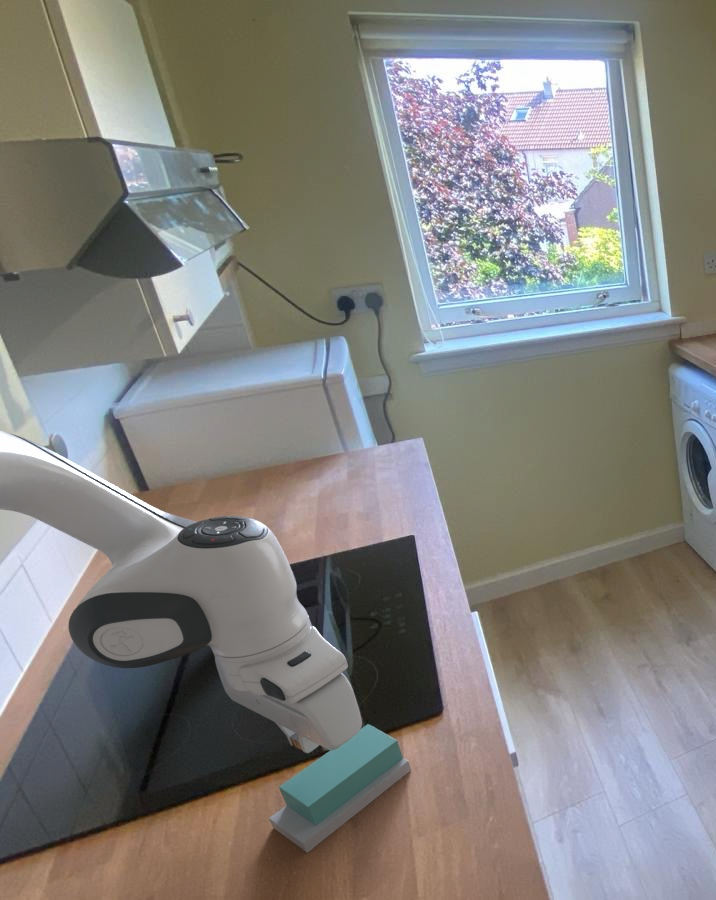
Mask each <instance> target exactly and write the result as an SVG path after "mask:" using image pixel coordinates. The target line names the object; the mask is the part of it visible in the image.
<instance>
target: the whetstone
mask: <svg viewBox="0 0 716 900" xmlns="http://www.w3.org/2000/svg"><path fill="white" fill-rule="evenodd" d="M411 771H412V768H411V765H410V762H409V760H408V759H406V758H404V757H403V754H402V751H401V748H400V745H399V741H398V739H395V738H393V737H392V736H390V735H389V734H387V733H385V732H383V731H382V730H380V729H378V728H376V727H375V726H373V725H371V724H369V723H367V724H366V725H364V726H363V727H361V729H360V731H359V732H358V733H357V734H356V735H355V736H354V737H352V738H351V739H350V740H349V741H347V742H346V743H345V744H343V745H342V746H340V747H339V748H337V749H336V750H333V751H331V750H328V752H326V753H325V754H323V755H322V756H320V757H319V758H317V759H316V760H315V761H313V762H311V763H310V764H309V765H307V766H306V767H305V768H303V769H302V770H300V771H298V772H297V773H296V774H295V775H293V776H292V777H290V778H289V779H287V780H286V781H284V782H283V783H282V784H281V785H279V786H278V790H279V791H280V793H281V796H282V798H283V801H284V802H285V804H286V805H285V806H283V807H282V808H281V809H280V810H278V811H276V812H275V813H274V814H272V815H271V816H269V818H268V820H269V822H270V824H271V826H272V828H273V829H274V830H276V831H277V832H278V833H280V834H281V835H282V836H284V837H285V838H286V839H288V840H289V841H290V842H292V843H293V844H294V845H295V846H297V847H298V848H300V849H301V850H303V852H305V853H307V854H308V853H309V852H311V851H312V850H313V849H315V848H316V847H317V846H318V845H319V844H321V843H322V842H323V841H325V840H326V839H327V838H328V837H329V836H330V835H332V834H333V833H334V832H335V831H337V830H338V829H339V828H341V827H342V826H343V825H345V824H346V823H348V821H349V820H351V819H352V818H353V817H355V816H356V815H357V814H359V813H360V812H361V811H362V810H363V809H365V808H366V807H367V806H368V805H370V804H371V803H372V802H374V800H376V799H377V798H378V797H380V796H381V795H382V794H384V793H385V792H386V791H387V790H388V789H390V788H391V787H392V786H393V785H394V784H396V783H398V782H399V780H401V779H402V778H403V777H405V776H406V775H407V774H409V773H410V772H411Z"/></svg>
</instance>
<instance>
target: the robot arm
mask: <svg viewBox="0 0 716 900" xmlns="http://www.w3.org/2000/svg"><path fill="white" fill-rule="evenodd" d="M0 510H1V511H2V510H3V511H9V512H14V513H19V514H23V515H26V516H29V517H31V518H33V519H36V520H38V521H40V522H42V523H44V524H46V525H47V526H49V527H52V528H54V529H56V530H58V531H59V532H61V533H63V534H66V535H67V536H70V537H71V538H73V539H76V540H78V541H79V542H82V543H83V544H85V545H87V546H89V547H92V548H94V549H95V550H97V551H99V552H101V553H102V554H104V555H105V556H106V558H108V560H109V561H110V564H111V567H110V568H109V569H108V570H107V571H106V572H105V573H104V575H102V576H101V577H100V578H99V579H98V580H97V581H96V582H95V584H94V585H93V586H92V587H91V588H90V589H89V590H88V592H87V593H86V594H85V595H84V596H83V598H82V599H81V600H80V601H79V603H78V605H77V606H76V607H75V608H74V610H73V611H72V612H71V615H70V616H69V620H68V633H69V636H70V638H71V640H72V642H73V644H74V645H75V647H76V648H77V649H78V650H79V651H80V652H81V653H82V654H84V655H85V656H86V657H87V658H89V659H91V660H93V661H95V662H97V663H99V664H101V665H105V666H108V667H111V668H118V669H139V668H145V667H150V666H153V665H158V664H161V663H164V662H167V661H171V660H175V659H177V658H181V657H184V656H186V655H189V654H192V653H194V652H197V651H199V650H202V649H203V648H205V647H207V646H208V647H210V649H211V651H212V654H213V656H214V661H215V662H214V663H215V666H216V670H217V673H218V676H219V679H220V681H221V682H220V683H222V687H223V690H224V692H225V693H226V695H227V697H229V698H230V699H231V700H232V701H233V702H235V703H236V704H239V705H241V706H243V707H245V708H246V709H248V710H250V711H253V712H254V713H256V714H258V715H260V716H262V717H264V718H266V719H268V720H270V721H272V722H274V724H276V726H278V728H279V729H280V730H281V731H282V732H283V734H284V735H285V736H286V738H287V740H288V743H289V745H290V746H292V747H294V748H296V749H299V750H301V751H302V752H304V753H305V754H310V753H311V752H313V751H314V750H315V749H317V748H318V747H319V746H321V747H322V748H324V749H326V750H328V751H330V750H331V751H333V750H336V749H337V748H339V747H340V746H342V745H343V744H345V743H346V742H347V741H349V740H350V739H351V738H352V737H354V736H355V735H356V734H357V733H358V732H359V731H360V729H362V725H363V721H362V716H361V711H360V708H359V705H358V701H357V698H356V695H355V692H354V689H353V686H352V684H351V682H350V681H349V678H347V676H346V675H345V674H344V673H343V672H345V671H346V670H347V669H348V667H349V666H348V662H347V661H348V660H347V658H346V656H345V655H344V654H343V652H341V651H340V650H339V649H337V648H336V647H334V646H333V645H332V644H331V643H330V642H328V641H327V640H326V639H325V638H324V636H323V635H321V633H320V632H319V630H318V629H317V627H315V625H313V624H312V622H311V620H310V616H309V614H308V611H307V609H306V608H305V606H303V604H302V603H301V602H300V600H299V598H298V594H297V592H298V591H297V589H298V585H297V581H296V577H295V575H294V572H293V570H292V567H291V565H290V562H289V560H288V558H287V556H286V554H285V553H286V552H285V551H284V550H283V547H282V546H281V544H280V541H279V540H278V539H277V537H276V536H275V534H274V532H273V531H272V530H271V529H270V528H269V527H268V526H267V525H265V524H264V523H263V522H261V521H260V520H257V519H256V518H251V517H247V516H240V515H224V516H223V515H222V516H216V517H215V516H214V517H211V518H206V519H203V520H199V521H194V520H192V519H188V518H185V517H181V516H177V515H175V514H172V513H170V512H169V513H168V512H166V511H163V510H161V509H159V508H157V507H154V506H152V505H151V504H150V503H147V502H145V501H143V500H142V499H139V498H138V497H136V496H135V495H132V494H130V493H129V492H127V491H126V490H124V489H122V488H120V487H119V486H117V485H115V484H113V483H111V482H109V481H108V480H106V479H105V478H103V477H100V476H99V475H97V474H96V473H94V472H92V471H90V470H88V469H87V468H84V467H83V466H81V465H79V464H77V463H76V462H74V461H72V460H70V459H68V458H67V457H65V456H63V455H60V454H59V453H57V452H55V451H53V450H51V449H49V448H48V447H45V446H43V445H41V444H39V443H37V442H35V441H32V440H29V439H27V438H25V437H22V436H19V435H16V434H13V433H10V432H6V431H4V430H1V429H0Z"/></svg>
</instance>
